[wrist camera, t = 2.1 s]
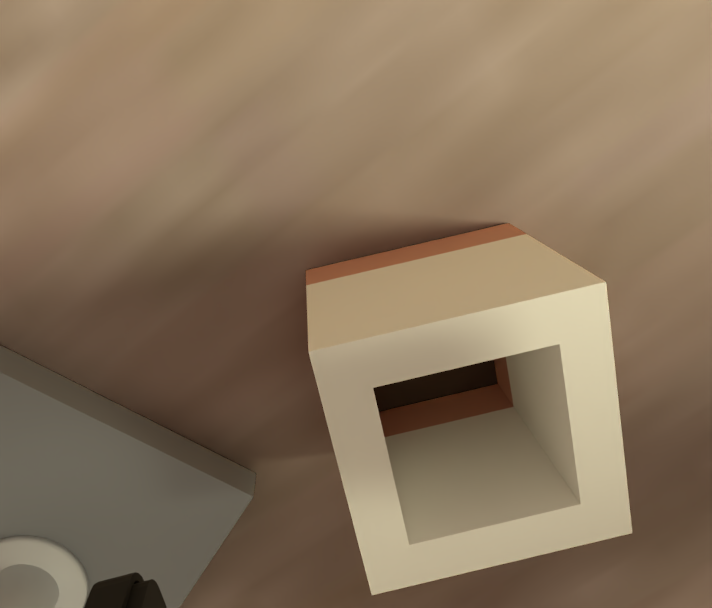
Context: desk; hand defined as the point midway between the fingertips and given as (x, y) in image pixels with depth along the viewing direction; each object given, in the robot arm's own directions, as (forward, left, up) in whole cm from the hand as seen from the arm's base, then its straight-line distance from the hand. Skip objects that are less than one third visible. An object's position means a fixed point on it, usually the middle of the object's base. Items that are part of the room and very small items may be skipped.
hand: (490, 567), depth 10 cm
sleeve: (-1, 0, -10) cm, 10 cm away
